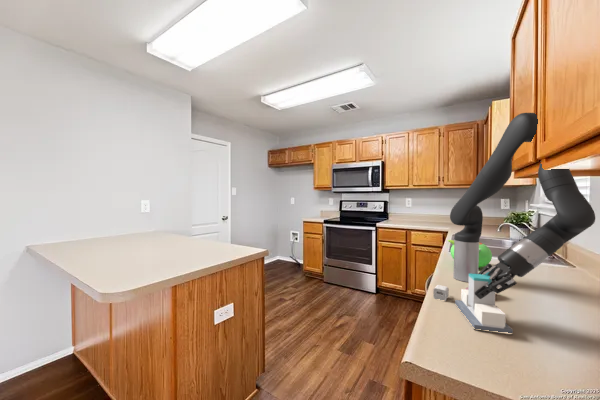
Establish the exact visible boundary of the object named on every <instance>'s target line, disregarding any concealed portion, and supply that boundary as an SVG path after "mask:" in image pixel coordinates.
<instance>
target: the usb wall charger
mask: <svg viewBox="0 0 600 400" xmlns="http://www.w3.org/2000/svg"><path fill="white" fill-rule="evenodd" d="M449 290H450V289H449V287H448V286H447V285H446V286H445V285H441V284H437V285H436V286H435V287H434V288H433V299H434V300H437V299H440V300H439V301H441V300H445V301H444V302H446V301H447V299H448V297H449Z"/></svg>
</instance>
